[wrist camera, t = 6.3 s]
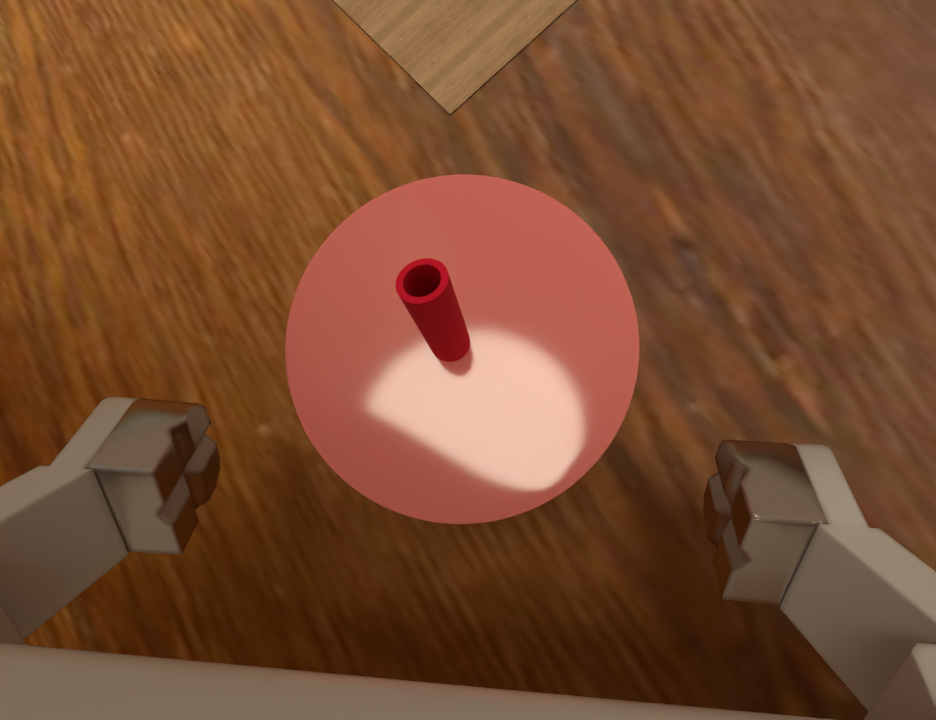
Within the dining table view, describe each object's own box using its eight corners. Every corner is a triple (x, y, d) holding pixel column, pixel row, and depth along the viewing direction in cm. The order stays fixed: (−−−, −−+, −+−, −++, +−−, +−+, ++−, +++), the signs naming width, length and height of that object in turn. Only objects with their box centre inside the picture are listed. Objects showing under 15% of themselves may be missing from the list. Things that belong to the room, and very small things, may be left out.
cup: (368, 326, 20) (164, 120, 8) (553, 285, 20) (624, 15, 8) (404, 515, 19) (238, 597, 7) (598, 474, 19) (755, 488, 7)
